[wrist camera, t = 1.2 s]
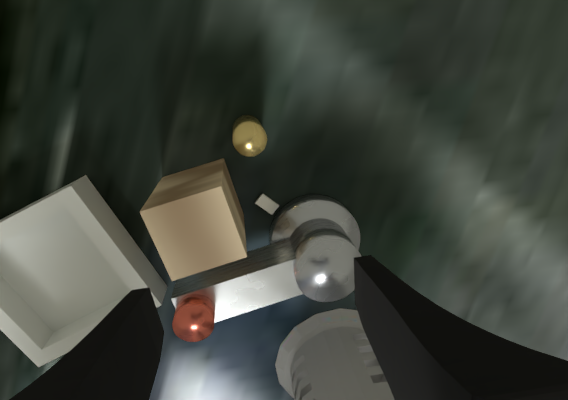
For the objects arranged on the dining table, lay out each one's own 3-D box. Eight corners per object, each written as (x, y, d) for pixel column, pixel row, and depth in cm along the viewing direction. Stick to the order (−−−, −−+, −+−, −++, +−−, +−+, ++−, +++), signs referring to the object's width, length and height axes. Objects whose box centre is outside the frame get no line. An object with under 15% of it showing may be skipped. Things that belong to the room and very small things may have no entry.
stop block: (223, 158, 23) (221, 186, 17) (243, 214, 24) (247, 257, 19) (162, 177, 23) (139, 211, 17) (185, 232, 24) (172, 281, 19)
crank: (340, 210, 23) (361, 237, 19) (353, 262, 24) (375, 297, 21) (171, 264, 23) (159, 301, 19) (194, 314, 24) (187, 358, 20)
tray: (54, 343, 25) (38, 367, 23) (-43, 242, 22) (-71, 259, 20) (167, 286, 25) (161, 305, 23) (85, 175, 22) (70, 185, 20)
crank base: (291, 286, 27) (300, 316, 23) (205, 134, 22) (200, 145, 19) (366, 249, 26) (384, 274, 23) (293, 88, 22) (303, 92, 19)
